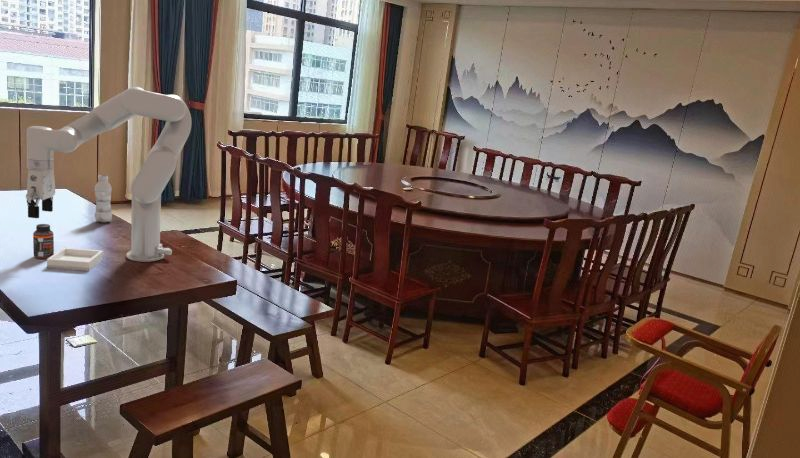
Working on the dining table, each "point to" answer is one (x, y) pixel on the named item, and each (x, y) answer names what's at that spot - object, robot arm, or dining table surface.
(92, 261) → the tray
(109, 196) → the plastic bottle
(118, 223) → the dining table surface
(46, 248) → the supplement bottle
